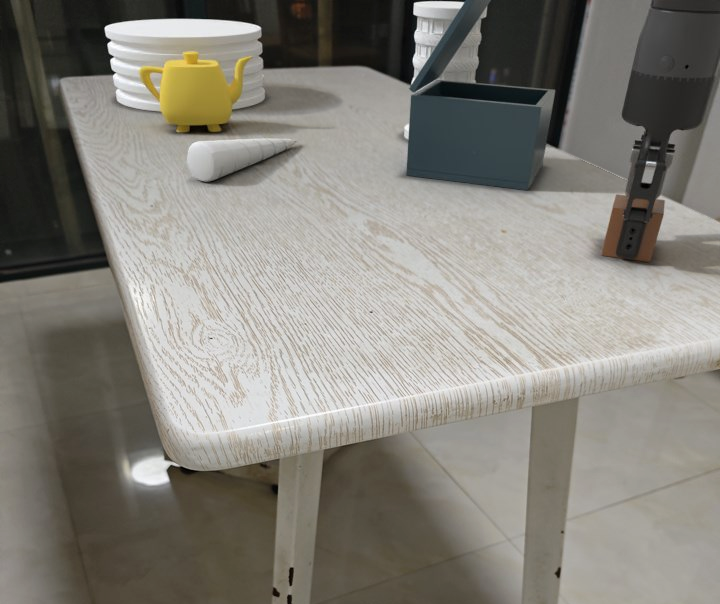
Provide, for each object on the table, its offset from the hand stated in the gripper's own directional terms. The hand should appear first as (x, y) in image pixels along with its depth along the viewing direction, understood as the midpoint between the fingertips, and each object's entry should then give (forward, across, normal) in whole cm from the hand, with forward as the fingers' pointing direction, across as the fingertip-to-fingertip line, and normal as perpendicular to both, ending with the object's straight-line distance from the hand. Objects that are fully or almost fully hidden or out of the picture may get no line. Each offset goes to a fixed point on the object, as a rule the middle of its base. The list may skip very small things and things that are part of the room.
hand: (627, 247), depth 76 cm
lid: (-17, +24, +25) cm, 39 cm away
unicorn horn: (+1, +14, +53) cm, 55 cm away
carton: (0, 0, 0) cm, 0 cm away
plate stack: (+1, +52, +84) cm, 99 cm away
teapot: (+1, +31, +70) cm, 77 cm away
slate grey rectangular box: (0, +24, +22) cm, 33 cm away
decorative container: (+1, +42, +32) cm, 52 cm away
